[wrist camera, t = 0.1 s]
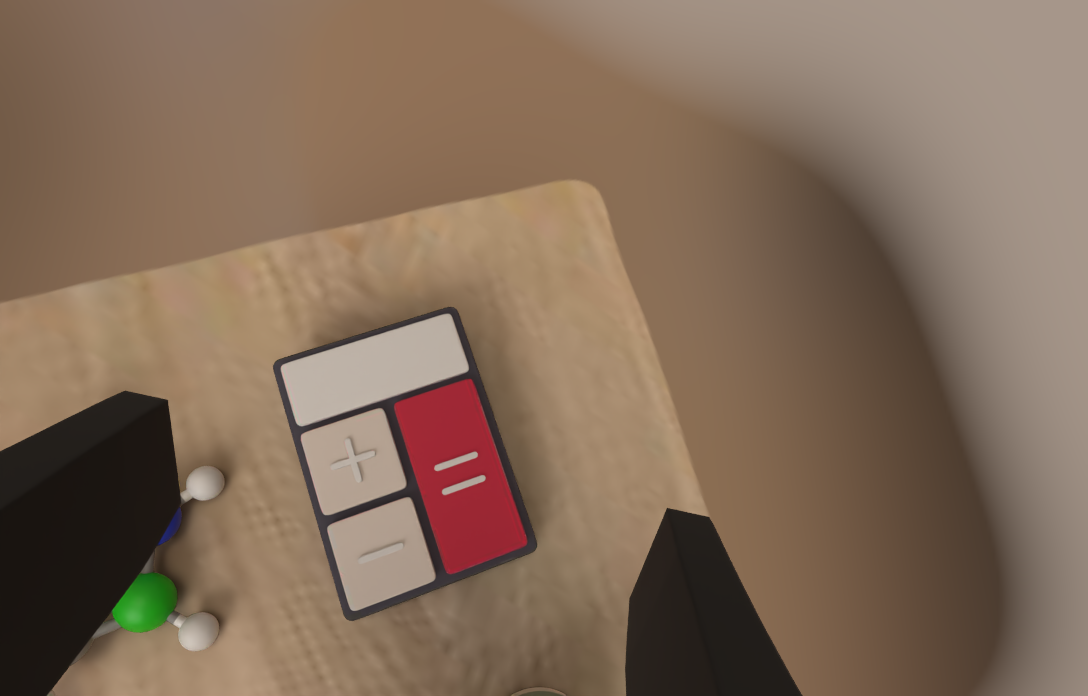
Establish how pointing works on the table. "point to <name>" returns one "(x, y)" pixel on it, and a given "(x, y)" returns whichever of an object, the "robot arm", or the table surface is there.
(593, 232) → the table surface
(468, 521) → the calculator
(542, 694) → the bottle
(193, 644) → the molecule model
